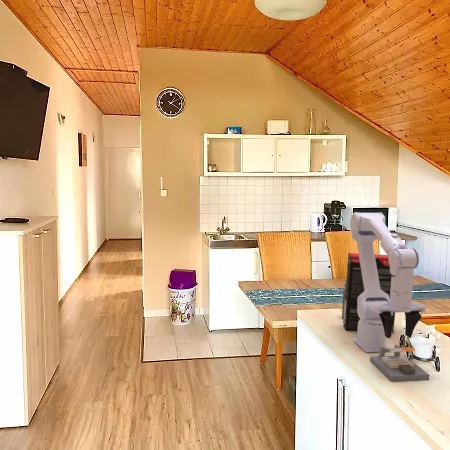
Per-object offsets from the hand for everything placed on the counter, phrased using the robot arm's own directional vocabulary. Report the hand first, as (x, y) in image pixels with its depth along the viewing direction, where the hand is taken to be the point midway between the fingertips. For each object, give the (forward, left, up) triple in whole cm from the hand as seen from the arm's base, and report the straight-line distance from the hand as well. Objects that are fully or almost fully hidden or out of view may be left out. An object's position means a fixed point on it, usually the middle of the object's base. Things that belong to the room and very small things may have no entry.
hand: (397, 336), depth 132 cm
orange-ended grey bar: (+1, 0, -4) cm, 4 cm away
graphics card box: (-31, +6, -10) cm, 33 cm away
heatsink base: (+2, 0, -9) cm, 10 cm away
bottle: (-43, +4, -10) cm, 44 cm away
